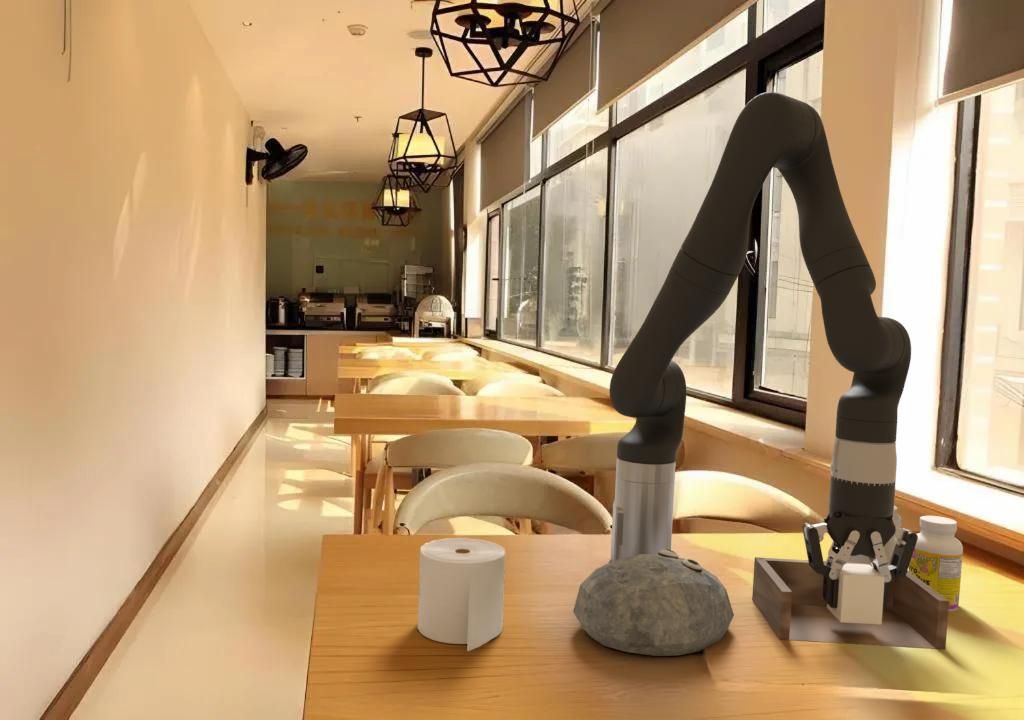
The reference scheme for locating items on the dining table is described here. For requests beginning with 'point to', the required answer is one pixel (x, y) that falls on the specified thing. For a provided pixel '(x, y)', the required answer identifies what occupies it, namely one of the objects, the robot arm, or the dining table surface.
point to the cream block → (859, 595)
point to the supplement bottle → (939, 557)
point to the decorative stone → (654, 605)
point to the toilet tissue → (461, 591)
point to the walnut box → (805, 617)
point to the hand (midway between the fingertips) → (854, 606)
